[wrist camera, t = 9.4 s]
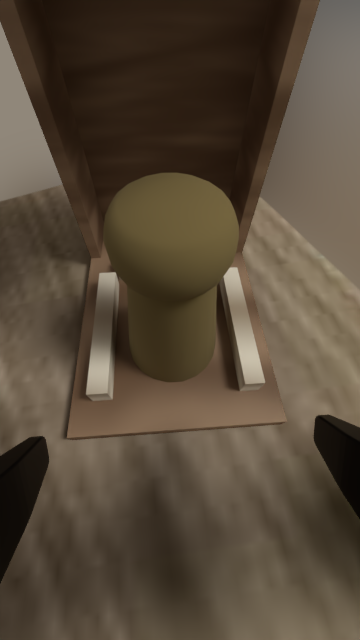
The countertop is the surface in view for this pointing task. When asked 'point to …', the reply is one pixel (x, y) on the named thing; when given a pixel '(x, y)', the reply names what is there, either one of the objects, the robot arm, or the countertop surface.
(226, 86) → the wooden stand
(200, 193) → the cork
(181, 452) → the countertop surface
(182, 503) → the countertop surface
